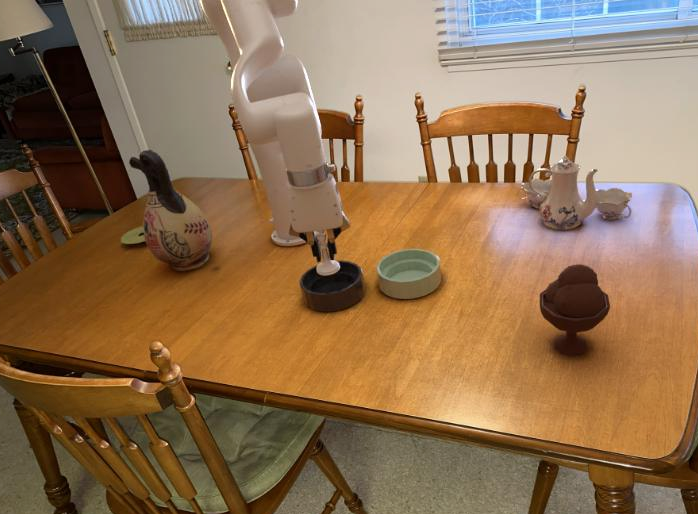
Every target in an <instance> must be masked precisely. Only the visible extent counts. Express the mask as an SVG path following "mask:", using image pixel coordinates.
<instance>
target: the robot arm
mask: <svg viewBox="0 0 698 514" xmlns="http://www.w3.org/2000/svg"><path fill="white" fill-rule="evenodd" d="M199 2H200V5H201V7H202V11H203V12H204V15H205V17H206V19H207V20H208V22H209V24H210V26H212V29H213V30H214V32H215V33H216V35H217V36H218V38H219V39H220V40H221V42H222V45H223V46H224V48H225V51H226V54H227V57H228V60H229V63H230V67H231V70H232V75H231V81H230V92H231V99H232V103H233V106H234V109H235V111H236V114H237V117H238V120H239V123H240V126H241V129H242V131H243V133H244V135H245V137H246V139H247V142H248V144H249V147H250V149H251V151H252V154H253V156H254V158H255V161H256V164H257V167H258V171H259V173H260V174H259V175H260V178H261V180H262V184H263V188H264V191H265V195H266V198H267V202H268V206H269V209H270V214H271V218H270V219H269V220H268V222H269V223H270V224H272V225H273V227H274V230H273V232H272V233H271V240H272V242H273V243H274V244H275V245H278V246H280V247H294V246H299V245H300V246H301V245H303V244H308V245H309V246H310V248H311V253H312V257H313V258H315V259H316V262H317V263H321V262H322V249H320V248H318V245H319V244H320V242H319V241H318V239H317V238H316V235H317V234H319V232H316V231H320V230H324V231H326V233H327V234H326V235H327V241H326V243H327V246H328V247H327V252H328V255H329V257H330V260H335V255H338V249H337V244H336V239H338V238H339V236H340V235H341V233H342V232H344V231H347V230H348V229H350V228H351V221H350V220H349V218H348V217H347V216H346V214H345V213H344V208H343V203H342V199H341V194H340V192H339V188H338V185H337V181H336V179H335V177H334V175H333V173H332V172H336V166H335V163H329V162H328V161H327V159H326V155H325V150H324V144H323V139H322V133H323V132H322V125H321V121H320V117H319V114H318V109H317V106H316V102H315V98H314V94H313V91H312V88H311V83H310V80H309V76H308V74H307V71H306V68H305V66H304V64H303V63H302V61H301V60H300V58H298V57H297V56H295V55H293V54H286V55H283V53H284V51H285V45H284V44H285V43H284V41H283V38H282V36H281V33H280V31H279V28H278V26H277V23H276V20H275V19H280V18H285V17H291V16H293V15H294V14H295V13H296V12H297V9H298V0H199Z"/></svg>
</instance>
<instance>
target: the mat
mask: <svg viewBox="0 0 698 514" xmlns="http://www.w3.org/2000/svg"><path fill="white" fill-rule="evenodd" d="M120 242H121V243H122V244H125V245H132V244H134V245H135V244H140V243H142V242H143V243H144V242H146V240H145V237H144V228H143V225H140V226H137V227H135V228H133V229H131V230H129V231H127V232H125V234H123V235H122V236H121V238H120Z"/></svg>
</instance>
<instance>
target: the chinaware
mask: <svg viewBox="0 0 698 514" xmlns="http://www.w3.org/2000/svg"><path fill="white" fill-rule="evenodd" d="M580 170H581V166H580V164H579V163H576V162H573V161H572V160H570V158H569V157H568V156H567V155H564V156H563V157H562V159H561V160H560V161H558V162H556V163H554V164H552V165H550V168H538V169H536V170H533V172H532V173H531V174H530V175H529V178H528V182H524V183H522V184H521V187H519V188H518V189H517V192H516V194H517V197H518V198H519V199H521V200H526V199H527V203H531V204H532V207H533V208H536V209H539V212H540V218H541V220H542V221H543V225H545V227H547V228H548V229H551V230H554V231H555V230H556V231H570V230H574V229H576V228H579V227H580V226H581V224H582V221H583V220H584V219H586V218H588V217H590V216H591V215H592V214H593V213H594V211H595V210H597V212H598V213H599V214H601V218H603V220H607V221H614V220H616V219H621V218H622V217H623V218H625V219H627V218H630V216H631V215H632V208H631V206H630V205H628V204H629V202H630V201H631V199H632V197H633V193H632V192H630V191H624V190H622V189H621V188H618V187H611V188H609V189H596V187H595V182H594V175H595V174H596V173H597V172H598V171H599V169H597V168H596V169H595V168H593V169H591V170H589V171H588V173H587V174H586V178H585V189H586V190H585V192H586V193H585V194H586V196H585V197H586V198H585V199H583V198H582V197H581V195H580V193H579V189H578V176H579V172H580ZM541 172H545V174H544V177H545V178H549V177H551V179H546V180H543V179H542V178H533V177H534V175H535V174H537V173H541ZM521 189H522V191H523V192H524V193H525V197H521V195H520V194H519V192H520V190H521ZM626 208H628V213H629V214H628V215H627V216H626V215H624V214H622V212H624V211H625V209H626Z"/></svg>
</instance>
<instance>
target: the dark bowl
mask: <svg viewBox="0 0 698 514" xmlns="http://www.w3.org/2000/svg"><path fill="white" fill-rule="evenodd" d="M336 261H337V262H338V263H339V265H340V269H339V270H338V271H337V272H336V273H334V274H331V275H320V274H318V273H317V269H316V268H317V265H318V264H317V265H314V266H312V267H311V268H309V269H307V270H306V271H305V272H304V273H303V274H302V275H301V276H300V279H299V287H300V292H301V295H302V299H303V302H304V304H305V305H306V306H307V308H309V309H311V310H313V311H317V312H337V311H340V310H344V309H347V308H349V307H352V306H354V305H355V304H356V303H358V302H359V301H360V300H361V299H362V298H363V296H364V295H365V293H366V284H365V278H364V272H363V270H362V269H363V268H362V267H361V266H360V265H359V264H357V263H354V262H352V261H350V260H336Z"/></svg>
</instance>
